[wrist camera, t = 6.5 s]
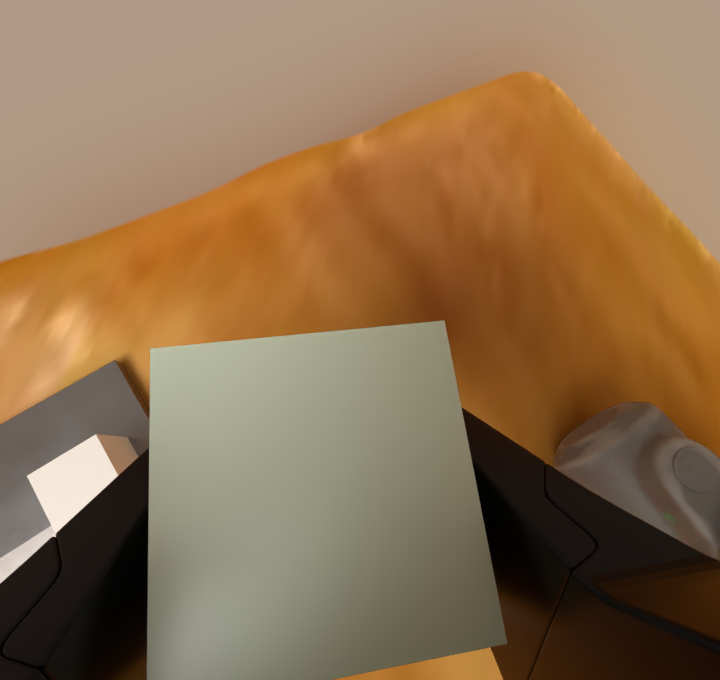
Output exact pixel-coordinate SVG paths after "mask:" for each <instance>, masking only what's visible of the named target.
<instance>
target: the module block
mask: <svg viewBox="0 0 720 680" xmlns="http://www.w3.org/2000/svg"><path fill="white" fill-rule="evenodd" d="M503 644H507V638H506V633H505V628H504V623H503V618H502V613H501V608H500V603H499V597H498V592H497V587H496V582H495V577H494V572H493V567H492V562H491V556H490V551H489V546H488V541H487V536H486V531H485V526H484V521H483V515H482V510H481V505H480V500H479V495H478V490H477V485H476V480H475V474H474V469H473V464H472V459H471V454H470V449H469V444H468V439H467V433H466V428H465V423H464V418H463V413H462V408H461V403H460V397H459V392H458V387H457V382H456V377H455V372H454V367H453V362H452V356H451V351H450V346H449V341H448V336H447V331H446V326H445V321H433V322H423V323H413V324H402V325H392V326H381V327H371V328H360V329H350V330H339V331H329V332H318V333H308V334H298V335H287V336H277V337H266V338H256V339H245V340H235V341H224V342H214V343H204V344H193V345H183V346H172V347H162V348H151V349H150V428H149V521H148V613H147V680H332V679H337V678H342V677H347V676H352V675H356V674H361V673H366V672H371V671H376V670H381V669H386V668H391V667H396V666H401V665H405V664H410V663H415V662H420V661H425V660H430V659H435V658H440V657H445V656H449V655H454V654H459V653H464V652H469V651H474V650H479V649H484V648H489V647H494V646H498V645H503Z"/></svg>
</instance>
